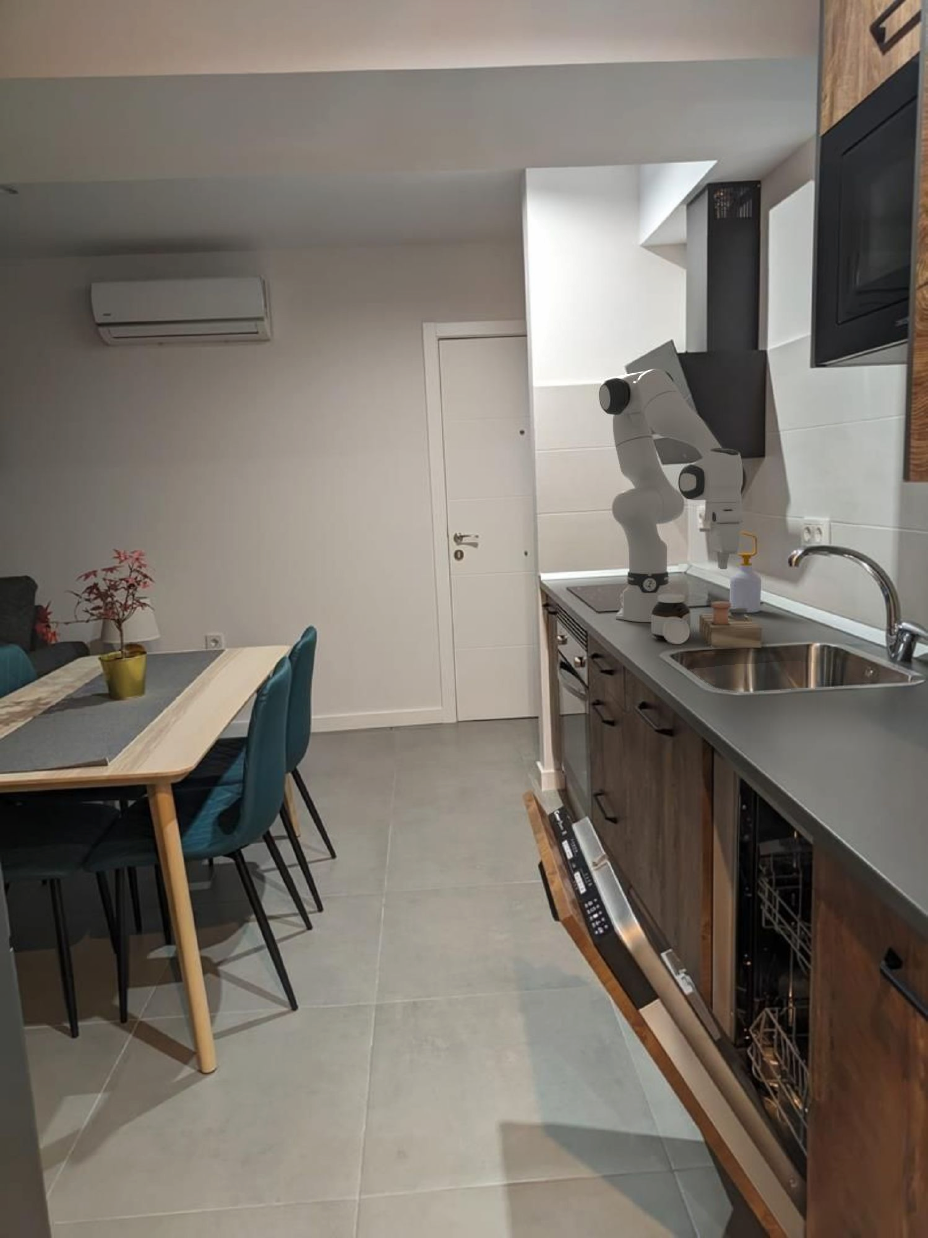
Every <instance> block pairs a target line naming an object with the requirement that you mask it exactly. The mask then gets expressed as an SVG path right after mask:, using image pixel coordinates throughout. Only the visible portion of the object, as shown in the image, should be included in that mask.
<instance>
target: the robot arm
mask: <svg viewBox="0 0 928 1238" xmlns="http://www.w3.org/2000/svg"><path fill="white" fill-rule="evenodd" d="M598 400H599V405H600V407H601V409H602V410H603V412H605V413H606V414H608V415H613V417H612V431H613V432H612V433H613V440H614V445H615V450H616V455H617V459H618V463H619V467H620V468H619V469H620V471H621V474H622V475H623V476H624V477H626V479H627V480H629V481H630V482H631V484H632V485H633V487H634V488H630V489H627V490H624V491H622V492H619V493H618V494H617V495H615V497H614V498H613V501H612V505H611V512H612V516H613V518H614V519H615V521H616V522H617V523H619V525H620V526H621V527H622V529H623V532H624V533H625V537H626V540H627V545H628V572H627V576H626V579H627V581H626V582H627V584H628V585H627V586H626V588H625V589H624V590H623V591H622V593H621V594H620V599H619V601H620V603H621V604H620V609H619V611H618V612H617V613H616V615H615V619H616V620H625V621H631V622H636V623H637V622H639V623H640V622H641V623H651V614H652V610H653V608H654V606H655V605H656V604H657V603H658V595H661V594H674V590H672V588H671V587H669V585H668V584H669V577H670V576H669V571H668V546H667V544H666V542H665V541H664V540H663V539H661V537H660V536H659V532H658V527H657V526H658V525H662V524H663V525H665V524H668V523H670V522H673V521H674V520H677V519H679V518H680V517H681V515H682V514H683V512H684V509H685V499H686V500H691V501H705V502H704V503H705V506H704V509H705V510H704V511H705V512H704V515H705V516H704V520H705V522H709V523H710V524H709V536H708V538H709V540H708V541H709V543H708V544H709V547H710V548H711V549H712V550H715V551H716V558H717V567H718V568H719V569H720V570H727V569H728V562H729V558H730V557H729V556H730V555H733V554H738V551H739V548H740V540H741V539H740V537H741V523H743V522H744V514H743V498H742V494H743V492H744V491H745V489H746V487H747V483H748V477H747V476H748V475H747V473H746V470H745V468H744V466H743V462H742V461H743V460H742V457H741V453H740V452H739V451H738V450H736V449H734V448H729V447H727V448H726V447H725V445H724V444H723V443H722V441H721V440H720V439H719V437H718V436H717V434H716V433H715V432H714V430H713V429H712V428H711V426H710V425H709V424H708V423H707V422H706V420H704V418H702V417H701V416H700V415H699V414H697V413H696V412H695V411H694V410H693V409H692V408H691V407H690V406H689V404H688V403H687V401H686V400H685V398H684V397H683V395H682V393H681V392H680V390H679V388H678V386H677V385H676V384H675V381H674V378H673V376H672V375H671V373H669V372H667V371H665V370H663V369H659V368H652V369H649V370H646V371H639V372H638V371H637V372H633V373H628V374H624V375H620V376H612V377H610V378H607V379H605V380H604V381H603V382H602V383H601V386H600V387H599V392H598ZM651 429H652V430H651ZM652 431H653V432H654V433H655V434H656V435H658V436H660V437H663V438H666V439H672V440H676V441H680V442H682V443H685V444H686V445H687V444H688V445H689V446H691V447H693V448H695V449H696V451H698V452H699V454H700V455H701V458H700V459H699V460H696V461H694V462H692V463H688V464H686V465H685V466H684V467H683V468H682V469H681V471H680V473H679V475H678V481H677V482H678V483H677V484H678V489H679V490H678V489H676V488H675V487H674V486H673V485H672V484H671V482H670V481H669V479H668V478H667V476H666V474H665V471H664V470H663V468H662V466H661V464H660V461H659V457H658V454H657V450H656V445H655V442H654V438H653V434H652ZM684 498H685V499H684Z"/></svg>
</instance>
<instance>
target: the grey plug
mask: <svg viewBox="0 0 928 1238" xmlns="http://www.w3.org/2000/svg"><path fill="white" fill-rule="evenodd" d="M746 612H747V608H746V607H739V606H734V607H730V608H728V613H730V614H731V618H730V619H745V614H747V613H746Z"/></svg>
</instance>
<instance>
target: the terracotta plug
mask: <svg viewBox="0 0 928 1238" xmlns="http://www.w3.org/2000/svg"><path fill="white" fill-rule="evenodd" d="M710 607H711V608H713V612H712V614H713V626H728V614H729V612H728V608H730V607H731V603H730V601H723V600H720V601H711V604H710Z"/></svg>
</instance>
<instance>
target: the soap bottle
mask: <svg viewBox="0 0 928 1238" xmlns="http://www.w3.org/2000/svg"><path fill="white" fill-rule="evenodd" d="M740 534H743V535H746V536H750V537H751V538H754V550H753V552H741V553H740V552H739V553H738V556H740V557H741V559H743V562H740V568H739V569H740V570H739V571H738V572H736V573H734V574H733V575H731V577H730V580H729V602H730V603H731V607H734V606H739V607H746V608H747V612H746V613H745V614H751V613H752V614H753V613H757V612H760V610H761V598H762V578H761V576H759V574H757V573H756V572H754V571H753V569H752V568H753V566H752V565H753V563H752V562H750V559H752V556H756V555H757V552H758V538H757V536H756V535H754V534H752V533H749V532H746V531H740Z"/></svg>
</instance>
